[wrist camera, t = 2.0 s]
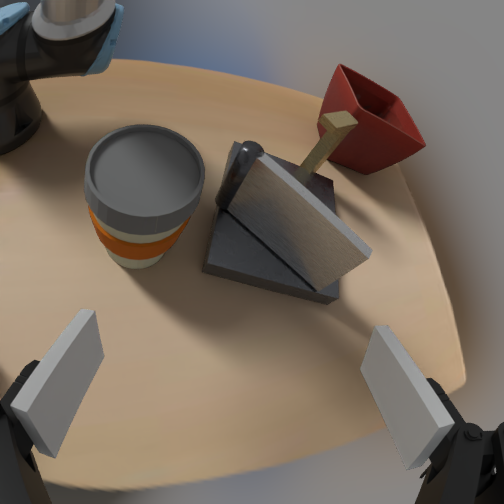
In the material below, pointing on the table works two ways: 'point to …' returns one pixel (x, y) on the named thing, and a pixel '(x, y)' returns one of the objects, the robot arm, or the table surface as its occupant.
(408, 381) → the robot arm
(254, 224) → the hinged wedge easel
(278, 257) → the dark grey flat slab
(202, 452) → the table surface
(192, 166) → the reusable coffee cup
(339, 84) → the plant pot
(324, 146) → the wooden l-shaped post
